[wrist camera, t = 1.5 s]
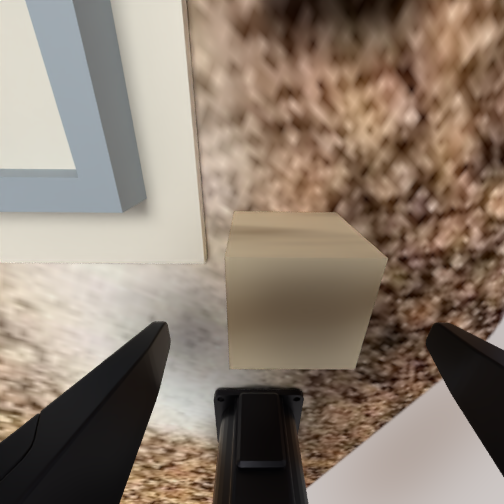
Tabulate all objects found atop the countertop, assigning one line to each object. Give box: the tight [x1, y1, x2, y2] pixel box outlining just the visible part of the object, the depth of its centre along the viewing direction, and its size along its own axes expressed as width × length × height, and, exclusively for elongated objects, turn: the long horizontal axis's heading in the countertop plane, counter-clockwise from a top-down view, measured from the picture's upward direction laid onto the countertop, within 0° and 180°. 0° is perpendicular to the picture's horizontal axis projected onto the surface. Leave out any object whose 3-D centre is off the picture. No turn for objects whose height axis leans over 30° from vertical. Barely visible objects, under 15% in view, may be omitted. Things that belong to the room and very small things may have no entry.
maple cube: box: [225, 211, 388, 369], centre depth 11 cm, size 5×5×5 cm
